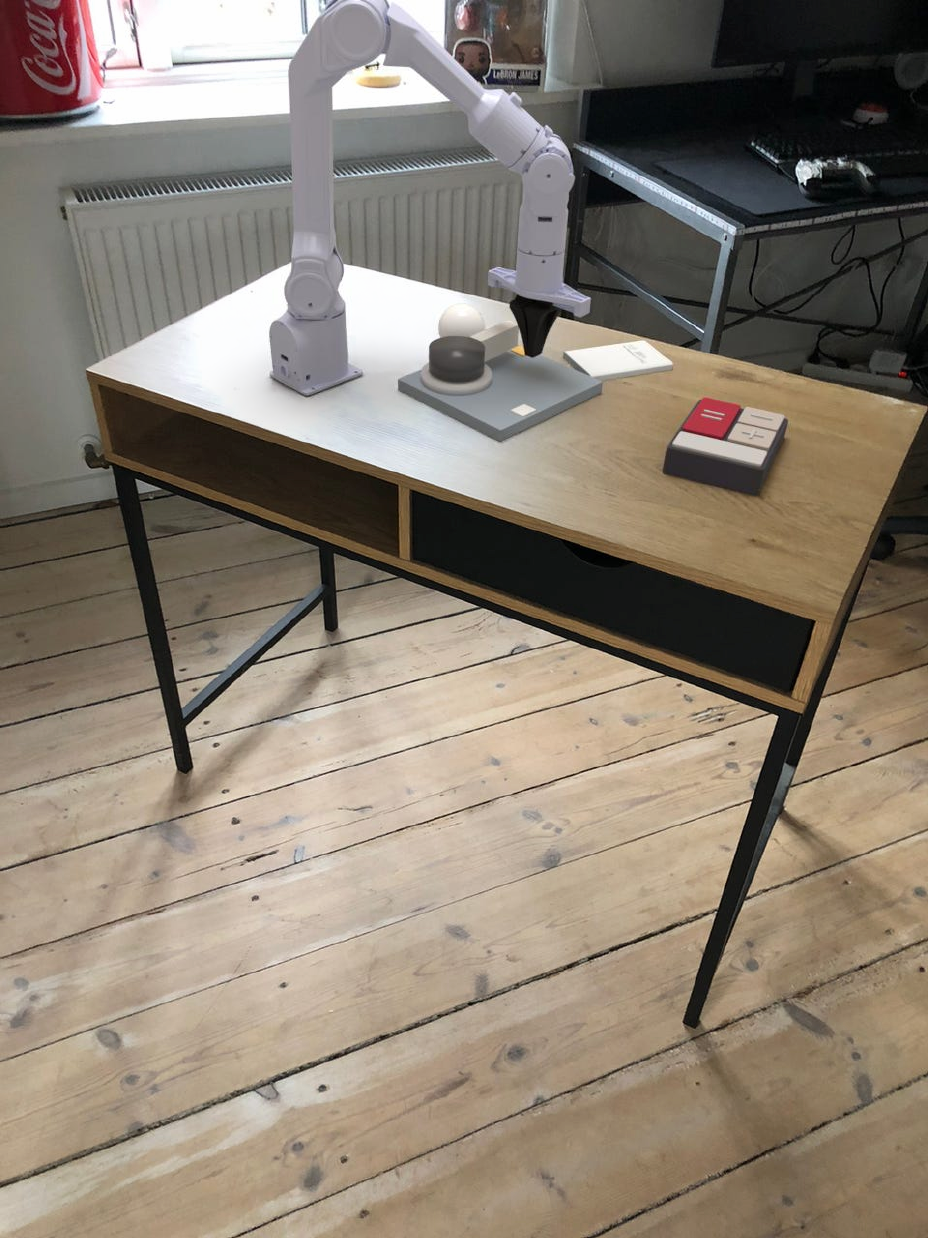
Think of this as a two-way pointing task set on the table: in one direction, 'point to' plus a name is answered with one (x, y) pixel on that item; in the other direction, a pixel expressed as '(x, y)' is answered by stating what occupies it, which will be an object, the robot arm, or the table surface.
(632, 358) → the external hard drive
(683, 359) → the table surface
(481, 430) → the base
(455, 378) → the cap
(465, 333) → the lightbulb
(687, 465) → the calculator
